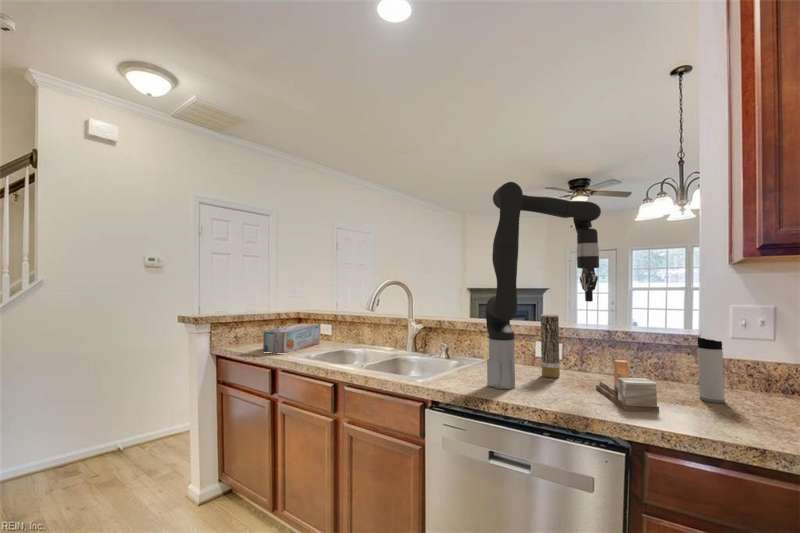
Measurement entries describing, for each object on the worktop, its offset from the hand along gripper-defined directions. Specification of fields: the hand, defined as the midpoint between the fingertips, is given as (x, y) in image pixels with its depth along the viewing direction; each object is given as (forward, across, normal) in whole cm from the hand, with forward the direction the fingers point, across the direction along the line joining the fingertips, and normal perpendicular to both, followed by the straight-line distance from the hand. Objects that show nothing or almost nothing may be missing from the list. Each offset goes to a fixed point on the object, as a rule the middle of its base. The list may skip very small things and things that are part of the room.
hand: (588, 301), depth 143 cm
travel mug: (+31, -16, -31) cm, 47 cm away
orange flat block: (+29, -21, -4) cm, 36 cm away
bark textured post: (+31, +11, +12) cm, 35 cm away
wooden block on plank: (+31, -18, -4) cm, 36 cm away
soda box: (+32, +62, +145) cm, 161 cm away
